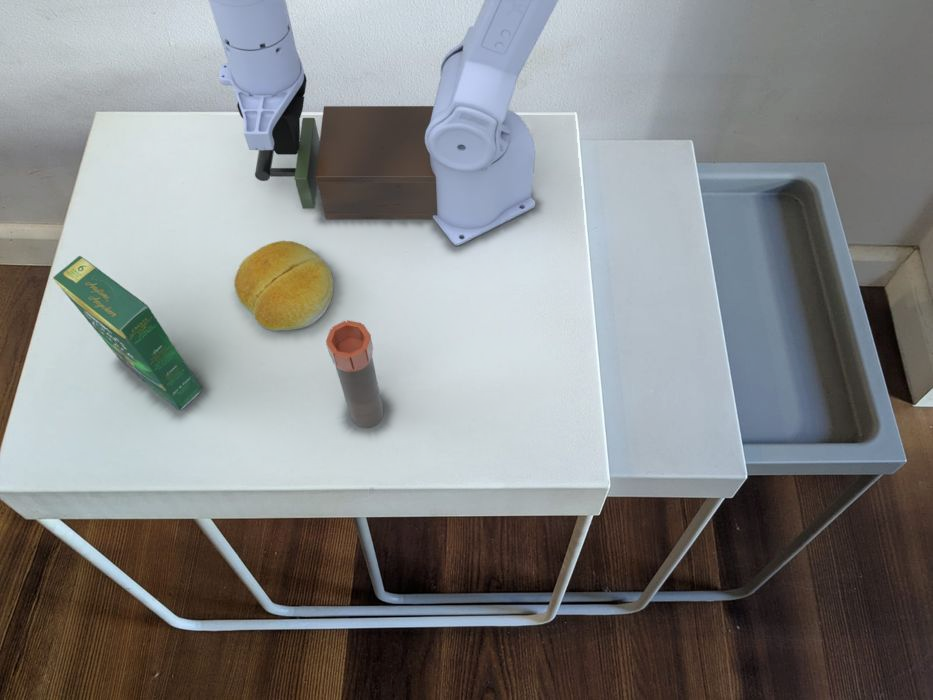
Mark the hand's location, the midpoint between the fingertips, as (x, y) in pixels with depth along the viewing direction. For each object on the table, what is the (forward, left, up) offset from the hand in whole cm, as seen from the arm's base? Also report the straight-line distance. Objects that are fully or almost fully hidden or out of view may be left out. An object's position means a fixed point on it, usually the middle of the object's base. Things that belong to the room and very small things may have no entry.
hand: (287, 149), depth 74 cm
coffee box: (+20, +13, -5) cm, 24 cm away
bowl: (+6, +26, +5) cm, 27 cm away
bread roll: (+7, +11, -5) cm, 14 cm away
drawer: (-4, +2, -4) cm, 6 cm away
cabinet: (-8, +5, -5) cm, 10 cm away
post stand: (+6, +26, -5) cm, 27 cm away
